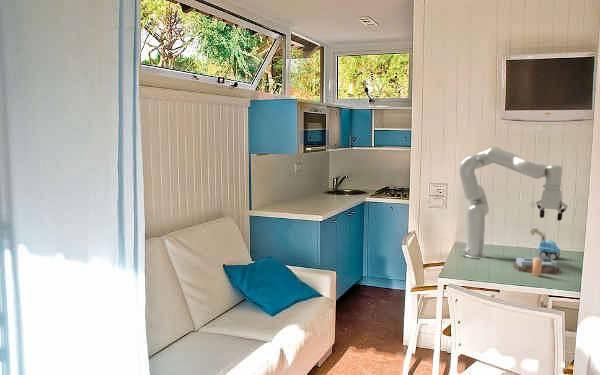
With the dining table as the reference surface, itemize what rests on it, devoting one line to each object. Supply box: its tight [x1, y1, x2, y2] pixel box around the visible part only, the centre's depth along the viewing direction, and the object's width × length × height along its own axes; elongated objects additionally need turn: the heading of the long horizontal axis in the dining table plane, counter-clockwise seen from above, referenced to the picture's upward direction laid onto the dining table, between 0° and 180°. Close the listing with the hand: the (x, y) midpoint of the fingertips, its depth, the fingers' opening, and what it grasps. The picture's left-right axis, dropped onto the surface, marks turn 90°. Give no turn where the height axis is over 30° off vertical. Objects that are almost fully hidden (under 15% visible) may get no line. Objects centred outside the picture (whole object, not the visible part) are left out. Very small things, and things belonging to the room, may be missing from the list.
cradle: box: [512, 262, 562, 275], centre depth 284 cm, size 21×13×4 cm, turn 86°
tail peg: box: [531, 258, 542, 278], centre depth 272 cm, size 4×4×10 cm
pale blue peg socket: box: [515, 255, 558, 271], centre depth 283 cm, size 18×14×7 cm
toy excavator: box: [529, 226, 561, 261], centre depth 317 cm, size 9×17×17 cm, turn 51°
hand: (550, 218), depth 293 cm, fingers open, 9 cm apart
